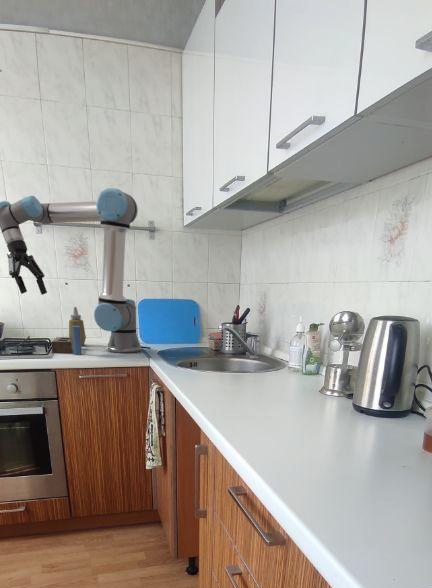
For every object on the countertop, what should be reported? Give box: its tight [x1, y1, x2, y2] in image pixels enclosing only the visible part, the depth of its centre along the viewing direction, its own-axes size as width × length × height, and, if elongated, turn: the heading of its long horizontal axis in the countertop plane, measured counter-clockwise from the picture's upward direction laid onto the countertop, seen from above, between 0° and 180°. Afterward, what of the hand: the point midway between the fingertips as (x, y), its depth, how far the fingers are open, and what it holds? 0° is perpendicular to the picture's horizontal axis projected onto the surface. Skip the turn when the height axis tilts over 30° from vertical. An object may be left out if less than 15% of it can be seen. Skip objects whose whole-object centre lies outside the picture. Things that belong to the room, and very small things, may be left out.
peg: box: [72, 326, 83, 356], centre depth 204 cm, size 3×3×12 cm
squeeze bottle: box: [68, 306, 87, 347], centre depth 227 cm, size 8×8×18 cm
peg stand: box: [50, 336, 74, 354], centre depth 214 cm, size 9×15×5 cm, turn 9°
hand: (34, 293), depth 201 cm, fingers open, 13 cm apart
